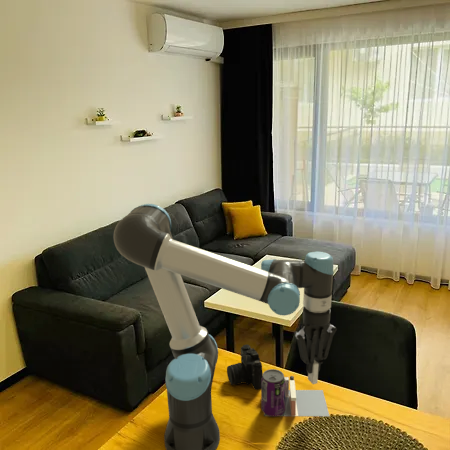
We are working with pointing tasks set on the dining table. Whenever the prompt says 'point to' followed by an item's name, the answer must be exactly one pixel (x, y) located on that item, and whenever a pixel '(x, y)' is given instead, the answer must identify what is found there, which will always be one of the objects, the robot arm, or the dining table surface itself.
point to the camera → (246, 369)
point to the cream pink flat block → (293, 397)
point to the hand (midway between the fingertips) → (312, 381)
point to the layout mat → (307, 404)
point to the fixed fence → (287, 384)
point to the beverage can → (273, 392)
